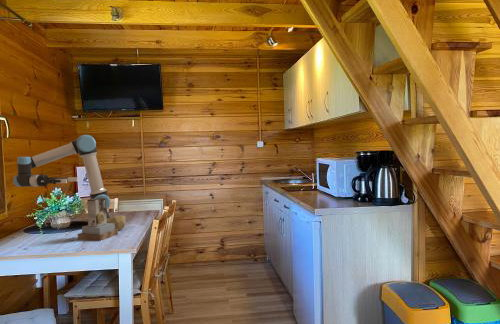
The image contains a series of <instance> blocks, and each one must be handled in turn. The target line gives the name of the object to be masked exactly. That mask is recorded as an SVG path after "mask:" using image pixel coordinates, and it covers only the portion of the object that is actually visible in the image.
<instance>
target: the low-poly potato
mask: <svg viewBox="0 0 500 324" xmlns="http://www.w3.org/2000/svg"><path fill="white" fill-rule="evenodd" d="M107 223H115V229H118V232H120V231H122V230H124V228H125V227H126V226H125V225H126V215H116V216H113V217H110V218H107Z"/></svg>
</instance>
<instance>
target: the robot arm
mask: <svg viewBox="0 0 500 324" xmlns="http://www.w3.org/2000/svg"><path fill="white" fill-rule="evenodd" d="M77 154H79V157H81V158H82V160H83V165H84V169H85V172H86V177H87V179H88V180H87V181H88V183H89V187H90V192H89V197H90V198H89V199H95V198H106V216H107V218H111V217H110V214H109V211H108V209H109V207H110V206H111V198H110V197H109V193H108V190H107V189H106V188H105V187H104V182H103V178H102V175H101V170H100V166H99V162H98V159H97V154H98V149H97V142H96V139H95V138H94V137H93V136H92V135H89V134H83V135H80V136H78V138H76V139H74V140H72V141H70V142H69V143H67V144H65V145H61V146H59V147H56V148H53V149H50V150H47V151H44V152H42V153H39V154H35V155H33V156H31V157H30V156H18V157H17V160H16V162H17V163H16V164H17V174H16V175H14V176H13V179H12V182H13V185H14V186H15V187H19V188H21V187H22V188H24V187H25V188H27V187H34V188H37V187H47V185H50V184H51V185H52V184H53V185H56V184H68V182H79V178H78V176H77V177H76V176H74V177H73V176H72V177H69V176H66V177H65V176H64V177H52V176H51V177H50V176H48V175H47V174H32V169H35V168H37V167H40V166H44V165H47V164H49V163H51V162H54V161H58V160H60V159H63V158H65V157H67V156H71V155H77Z"/></svg>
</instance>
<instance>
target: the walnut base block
mask: <svg viewBox="0 0 500 324" xmlns="http://www.w3.org/2000/svg"><path fill="white" fill-rule="evenodd" d="M118 235H119V231H118V229H115V230H113V231H109V232H106V233H103V234H100V235H99V234H85V233H82V232H80V233H78V234H77V240H81V241H82V240H83V241H84V240H85V241H96V242H97V241H99V242H101V240H102V241H104V240H107V239H110V238H113V237H115V236H118Z"/></svg>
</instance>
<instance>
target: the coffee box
mask: <svg viewBox="0 0 500 324" xmlns="http://www.w3.org/2000/svg"><path fill="white" fill-rule="evenodd" d="M86 202H87V203H86V205H87V221H88V222H87V225H88V226H93V227H97V226H100V225H104V224H107V216H106V198H95V199H90V198H89V199H87V201H86Z"/></svg>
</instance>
